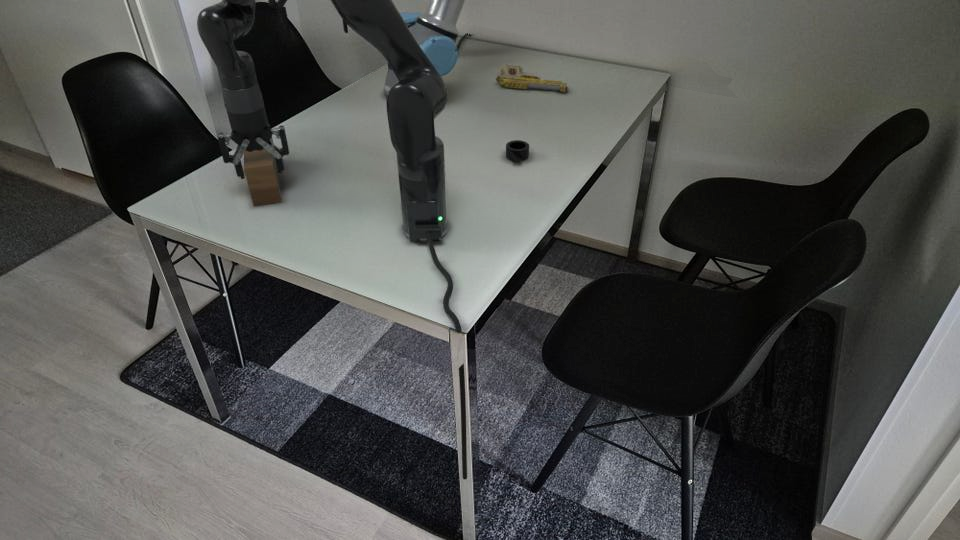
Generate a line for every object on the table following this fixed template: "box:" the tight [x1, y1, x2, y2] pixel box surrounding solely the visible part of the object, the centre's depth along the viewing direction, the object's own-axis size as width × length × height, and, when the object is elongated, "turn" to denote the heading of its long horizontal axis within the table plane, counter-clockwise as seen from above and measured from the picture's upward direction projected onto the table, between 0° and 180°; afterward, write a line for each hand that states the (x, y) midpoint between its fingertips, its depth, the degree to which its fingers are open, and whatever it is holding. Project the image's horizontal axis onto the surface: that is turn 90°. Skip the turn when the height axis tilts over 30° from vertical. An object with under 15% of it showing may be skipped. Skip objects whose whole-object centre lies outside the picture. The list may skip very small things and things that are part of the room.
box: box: [243, 123, 283, 207], centre depth 146 cm, size 21×6×10 cm, turn 17°
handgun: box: [495, 64, 569, 94], centre depth 196 cm, size 2×23×15 cm
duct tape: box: [505, 139, 530, 163], centre depth 157 cm, size 8×10×3 cm
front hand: (261, 174), depth 140 cm, fingers open, 7 cm apart
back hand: (317, 34), depth 153 cm, fingers open, 13 cm apart
